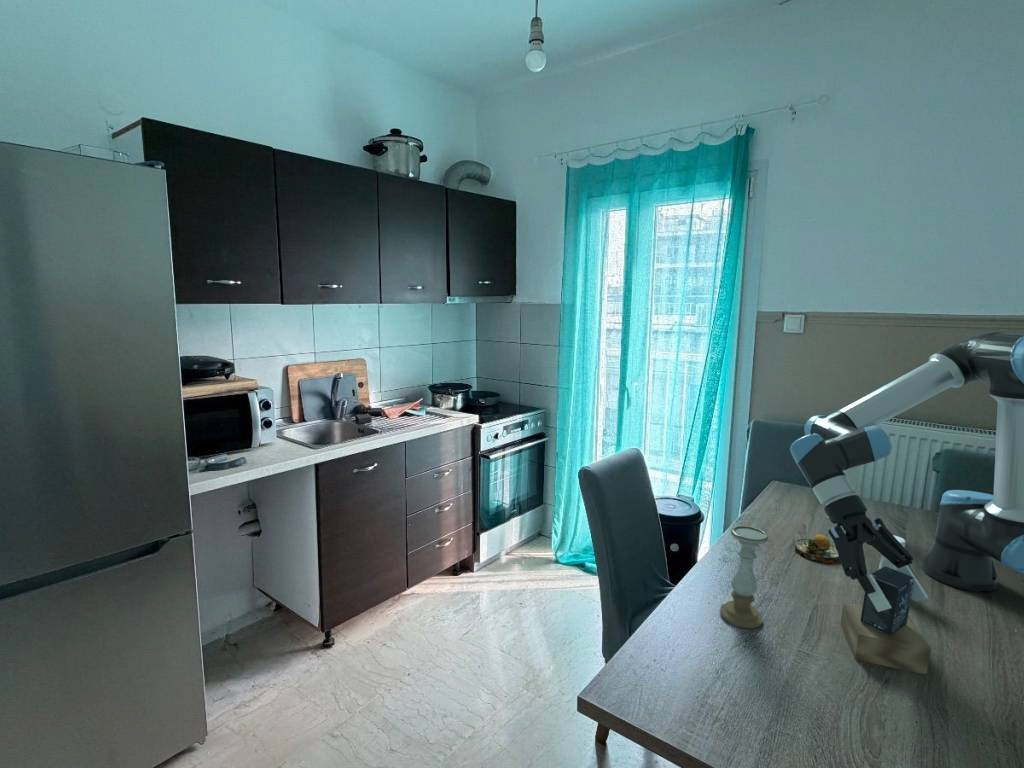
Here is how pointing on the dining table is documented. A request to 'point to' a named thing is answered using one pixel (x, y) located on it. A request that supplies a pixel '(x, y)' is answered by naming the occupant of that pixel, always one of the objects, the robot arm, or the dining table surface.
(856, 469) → the skyscraper
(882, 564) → the sprinkles bottle
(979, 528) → the robot arm
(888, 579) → the box
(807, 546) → the burger
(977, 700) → the dining table surface
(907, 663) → the tan square block
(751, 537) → the candle holder
